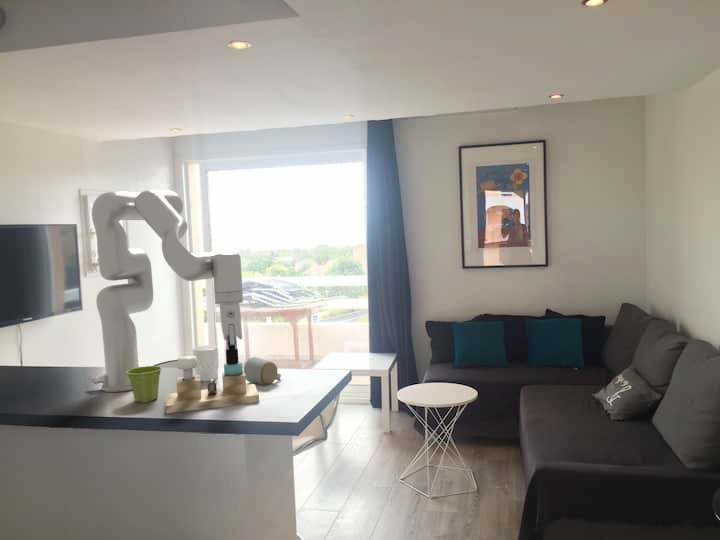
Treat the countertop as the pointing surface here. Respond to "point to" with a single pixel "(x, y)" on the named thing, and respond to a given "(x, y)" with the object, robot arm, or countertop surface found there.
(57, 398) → the countertop surface
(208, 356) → the white cup
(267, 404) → the countertop surface
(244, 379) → the mount
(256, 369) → the ceramic mug
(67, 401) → the countertop surface
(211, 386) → the grey metal peg
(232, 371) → the teal knob
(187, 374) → the ivory knob
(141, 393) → the plant pot
